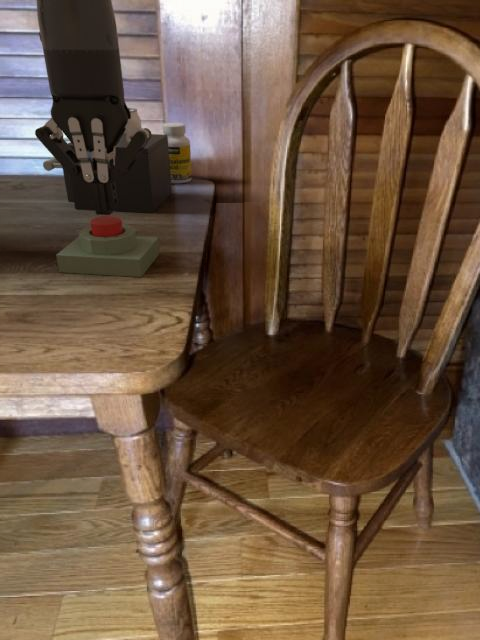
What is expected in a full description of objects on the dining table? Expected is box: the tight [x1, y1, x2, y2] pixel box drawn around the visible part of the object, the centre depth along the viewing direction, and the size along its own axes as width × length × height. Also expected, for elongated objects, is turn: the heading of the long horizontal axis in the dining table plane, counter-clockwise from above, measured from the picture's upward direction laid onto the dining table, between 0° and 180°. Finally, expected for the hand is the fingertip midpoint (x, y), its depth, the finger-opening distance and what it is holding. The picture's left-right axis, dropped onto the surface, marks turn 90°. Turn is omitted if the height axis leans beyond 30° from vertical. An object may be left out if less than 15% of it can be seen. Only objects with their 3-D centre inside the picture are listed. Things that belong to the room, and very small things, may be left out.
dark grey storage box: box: [67, 133, 173, 214], centre depth 92 cm, size 13×12×10 cm
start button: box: [89, 215, 123, 237], centre depth 68 cm, size 4×4×2 cm
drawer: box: [42, 156, 74, 203], centre depth 92 cm, size 16×10×8 cm
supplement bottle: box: [162, 122, 192, 185], centre depth 104 cm, size 5×5×10 cm
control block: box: [55, 223, 160, 278], centre depth 70 cm, size 10×8×4 cm
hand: (105, 212), depth 67 cm, fingers closed
